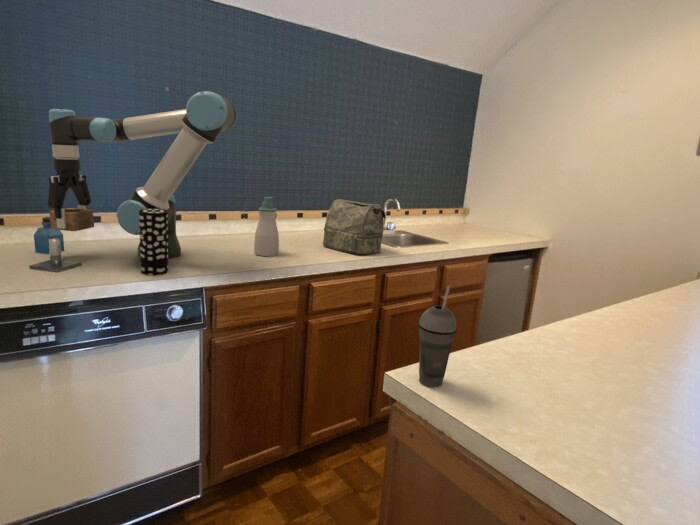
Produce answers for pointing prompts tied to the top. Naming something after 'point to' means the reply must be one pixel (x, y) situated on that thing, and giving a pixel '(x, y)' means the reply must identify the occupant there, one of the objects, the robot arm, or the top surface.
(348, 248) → the lunch bag
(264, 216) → the soap bottle
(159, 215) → the white-spotted black cylinder
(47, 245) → the perfume bottle
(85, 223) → the open wooden crate
